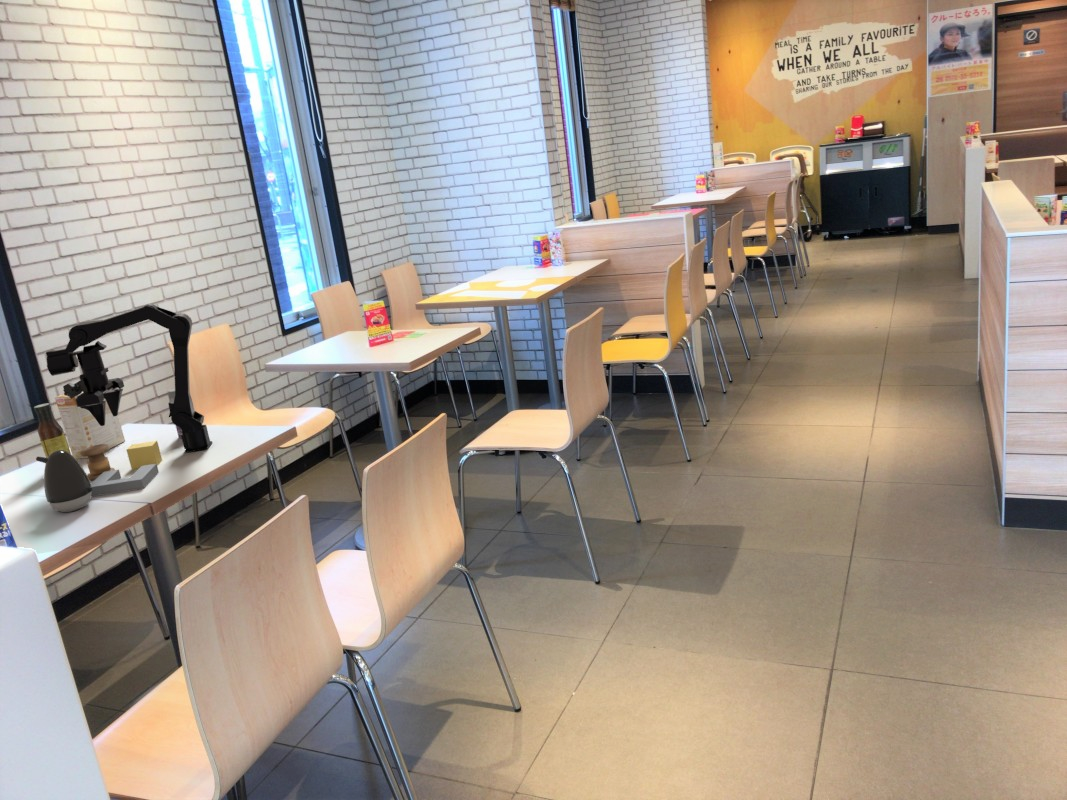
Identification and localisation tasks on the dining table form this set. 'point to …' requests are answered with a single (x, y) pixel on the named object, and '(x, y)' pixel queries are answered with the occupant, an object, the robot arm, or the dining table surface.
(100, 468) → the ball
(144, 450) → the tab
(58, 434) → the sauce bottle
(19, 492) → the dining table surface
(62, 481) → the pump dispenser
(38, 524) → the dining table surface
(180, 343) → the robot arm
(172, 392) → the container
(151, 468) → the gray u-shaped block
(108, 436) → the coffeecake box
